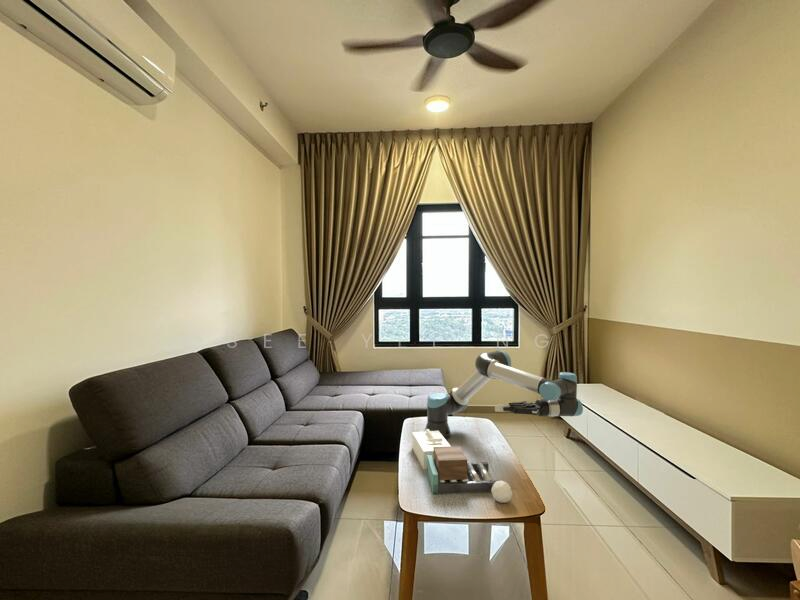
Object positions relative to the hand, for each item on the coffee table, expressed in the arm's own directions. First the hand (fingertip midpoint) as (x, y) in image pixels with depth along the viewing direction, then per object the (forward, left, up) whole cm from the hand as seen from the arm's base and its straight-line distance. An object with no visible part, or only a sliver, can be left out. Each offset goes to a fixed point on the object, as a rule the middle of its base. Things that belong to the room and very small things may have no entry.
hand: (495, 408), depth 165 cm
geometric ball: (+21, -5, -30) cm, 37 cm away
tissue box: (-20, -26, -31) cm, 45 cm away
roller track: (+5, -17, -30) cm, 35 cm away
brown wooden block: (+5, -22, -25) cm, 34 cm away
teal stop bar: (+5, -30, -30) cm, 42 cm away
